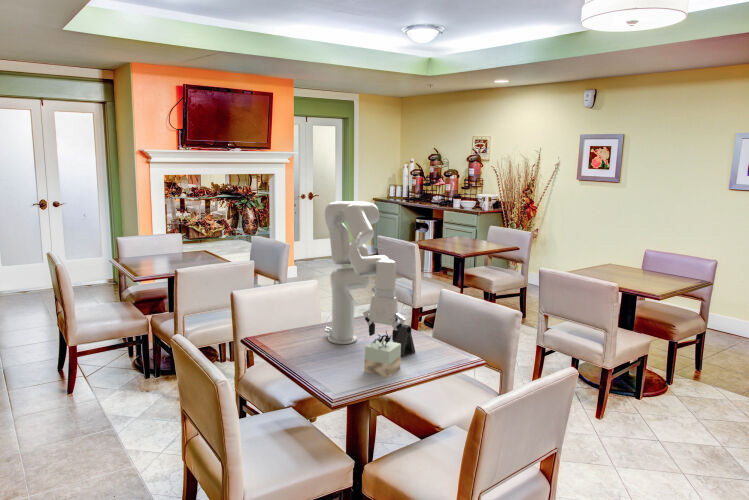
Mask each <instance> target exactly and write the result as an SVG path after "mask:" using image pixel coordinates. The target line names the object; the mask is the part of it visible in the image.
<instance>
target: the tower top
mask: <svg viewBox="0 0 749 500" xmlns="http://www.w3.org/2000/svg"><path fill="white" fill-rule="evenodd" d="M376 340H377V339H376ZM376 340H375V339H374V341H376ZM384 340H385V339H382V341H384ZM374 341H371V342H370V343H369V344H367V345H365V346H364V360H365V359H366V360H370V361H374V362H379V363H383V364H387V365H389V364H391V363H392V362H393V361H395V360H396V359H397V358H399V357H400V356H401V344H400V343H395V342H393V341H391V340H390V341H389V342H388V343H387V344H386V341H384V342H383V344H384V345H383V344H382V342H381V343H380V342H379V341H378V340H377V341H376V343H377V344H375V343H373V342H374ZM372 343H373V344H372ZM370 344H372V345H370ZM385 344H386V347H385ZM380 346H381V347H382V346H383V347H382V348H381V347H380ZM379 347H380V348H381V349H380V348H379ZM378 348H379V349H378Z"/></svg>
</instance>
